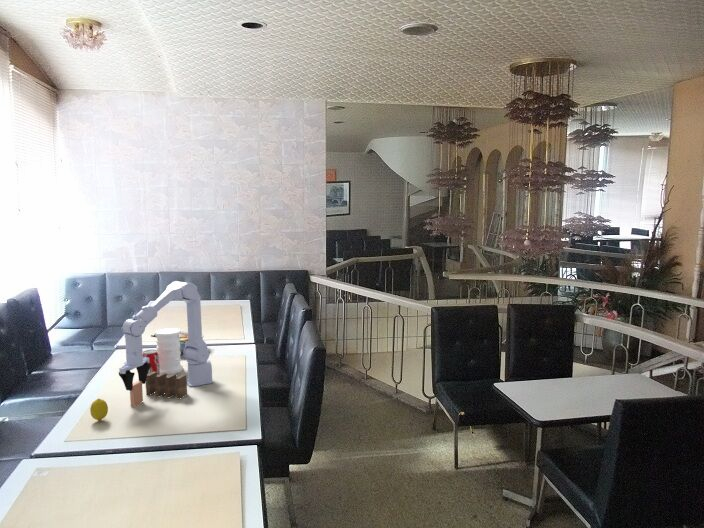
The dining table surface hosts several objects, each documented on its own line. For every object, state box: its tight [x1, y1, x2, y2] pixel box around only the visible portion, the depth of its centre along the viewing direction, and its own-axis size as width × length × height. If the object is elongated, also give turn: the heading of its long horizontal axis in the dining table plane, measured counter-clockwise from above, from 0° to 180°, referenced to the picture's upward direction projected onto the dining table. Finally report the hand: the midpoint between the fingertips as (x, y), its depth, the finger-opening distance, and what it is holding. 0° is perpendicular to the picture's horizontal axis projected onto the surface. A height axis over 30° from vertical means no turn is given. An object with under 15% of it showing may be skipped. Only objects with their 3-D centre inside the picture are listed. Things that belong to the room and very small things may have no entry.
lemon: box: [89, 398, 109, 422], centre depth 189 cm, size 6×6×8 cm
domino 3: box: [165, 373, 178, 398], centre depth 213 cm, size 2×5×8 cm, turn 164°
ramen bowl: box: [150, 331, 205, 354], centre depth 274 cm, size 25×23×8 cm
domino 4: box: [175, 374, 188, 400], centre depth 212 cm, size 2×5×8 cm, turn 164°
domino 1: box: [145, 372, 157, 396], centre depth 215 cm, size 2×5×8 cm, turn 164°
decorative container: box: [154, 327, 184, 375], centre depth 243 cm, size 12×12×18 cm
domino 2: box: [155, 373, 168, 397], centre depth 214 cm, size 2×5×8 cm, turn 164°
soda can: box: [142, 349, 160, 375], centre depth 232 cm, size 7×7×12 cm
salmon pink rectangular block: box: [129, 380, 144, 407], centre depth 204 cm, size 2×5×8 cm, turn 164°
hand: (135, 386), depth 204 cm, fingers open, 7 cm apart
